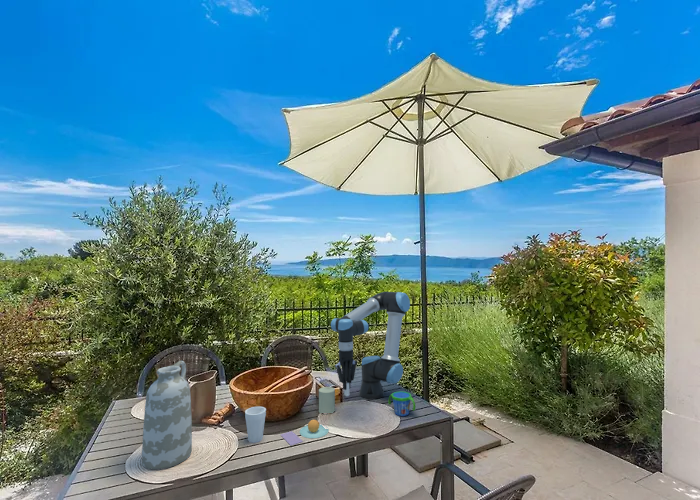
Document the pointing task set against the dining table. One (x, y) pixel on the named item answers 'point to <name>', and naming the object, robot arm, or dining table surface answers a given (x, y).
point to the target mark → (317, 434)
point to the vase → (167, 420)
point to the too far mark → (291, 438)
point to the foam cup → (255, 423)
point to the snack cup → (401, 402)
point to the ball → (313, 425)
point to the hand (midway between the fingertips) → (346, 395)
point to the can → (326, 400)
